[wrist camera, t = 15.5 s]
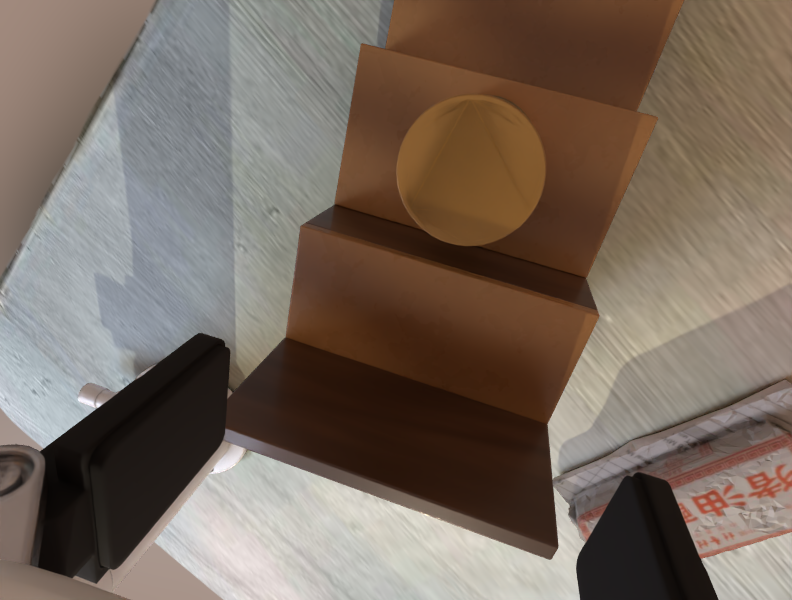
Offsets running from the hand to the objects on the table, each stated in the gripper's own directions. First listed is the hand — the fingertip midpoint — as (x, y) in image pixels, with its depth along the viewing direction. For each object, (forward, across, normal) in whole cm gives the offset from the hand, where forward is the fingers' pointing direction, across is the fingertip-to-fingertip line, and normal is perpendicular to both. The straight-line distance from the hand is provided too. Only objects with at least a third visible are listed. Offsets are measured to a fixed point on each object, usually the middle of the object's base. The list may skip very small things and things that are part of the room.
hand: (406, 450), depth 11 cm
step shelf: (+23, 0, -4) cm, 24 cm away
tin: (+16, 0, -5) cm, 17 cm away
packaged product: (+24, -21, +15) cm, 35 cm away
